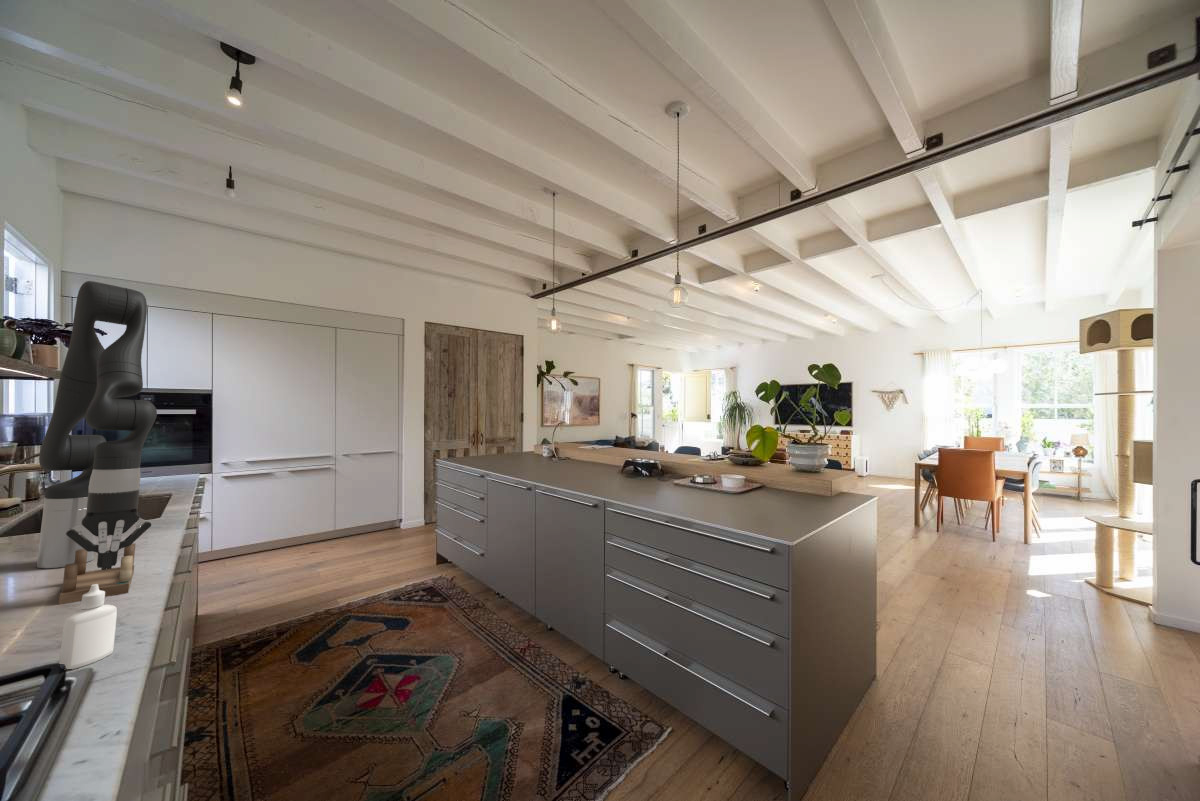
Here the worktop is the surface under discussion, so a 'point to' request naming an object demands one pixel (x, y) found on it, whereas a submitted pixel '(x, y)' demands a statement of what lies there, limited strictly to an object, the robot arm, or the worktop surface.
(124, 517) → the robot arm
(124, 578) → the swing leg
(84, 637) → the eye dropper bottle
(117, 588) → the wooden peg rack
